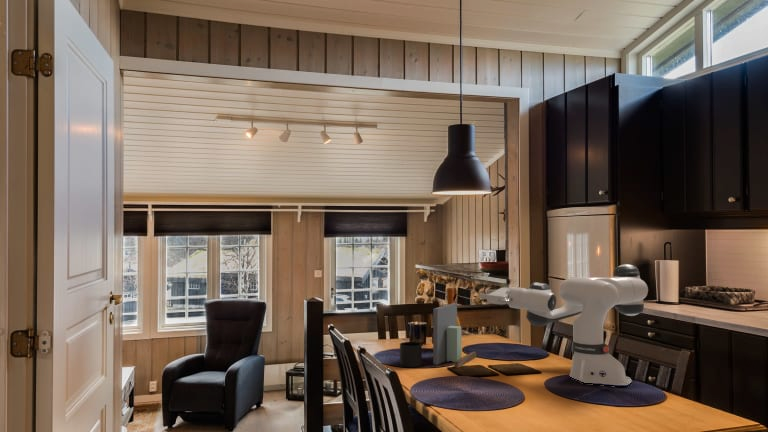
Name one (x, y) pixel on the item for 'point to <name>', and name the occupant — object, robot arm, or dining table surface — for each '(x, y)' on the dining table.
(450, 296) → the amber bottle
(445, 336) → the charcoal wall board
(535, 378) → the dining table surface
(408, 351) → the mug
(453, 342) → the sage-green cabinet block
